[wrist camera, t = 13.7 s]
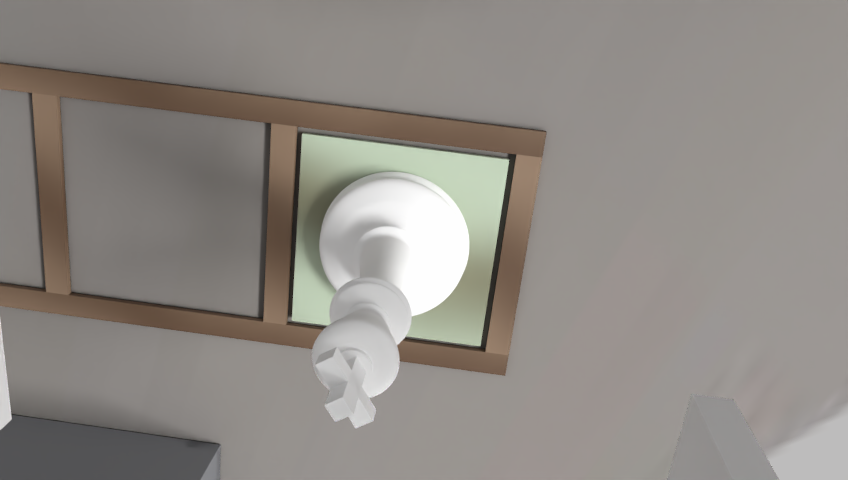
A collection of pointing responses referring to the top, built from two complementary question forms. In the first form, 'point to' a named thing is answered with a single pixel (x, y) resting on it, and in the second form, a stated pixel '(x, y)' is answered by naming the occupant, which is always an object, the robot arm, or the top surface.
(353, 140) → the brown wooden flat frame
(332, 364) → the chess piece
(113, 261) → the top surface
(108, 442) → the housing
